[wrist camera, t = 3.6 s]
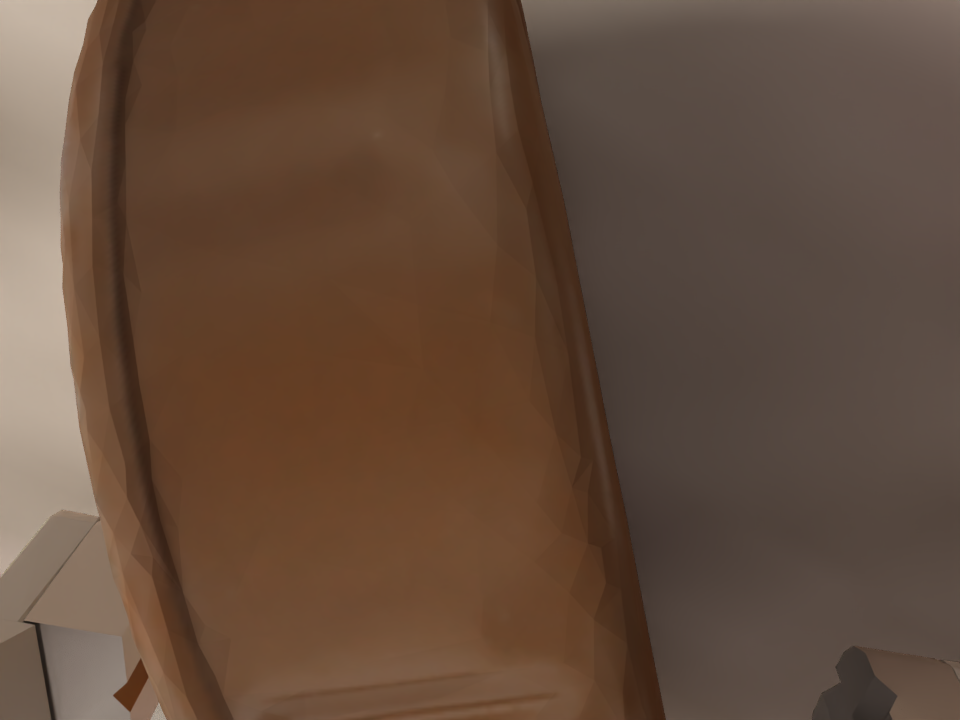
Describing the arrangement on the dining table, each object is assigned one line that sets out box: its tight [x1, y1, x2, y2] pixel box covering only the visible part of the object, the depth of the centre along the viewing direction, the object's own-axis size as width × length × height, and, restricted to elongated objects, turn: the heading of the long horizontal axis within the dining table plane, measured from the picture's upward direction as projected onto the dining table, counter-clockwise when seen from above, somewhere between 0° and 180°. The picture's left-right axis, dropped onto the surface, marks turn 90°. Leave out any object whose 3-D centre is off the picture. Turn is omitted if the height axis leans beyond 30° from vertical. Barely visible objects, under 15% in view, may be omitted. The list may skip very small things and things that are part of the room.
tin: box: [60, 0, 666, 720], centre depth 10 cm, size 15×3×8 cm, turn 13°
